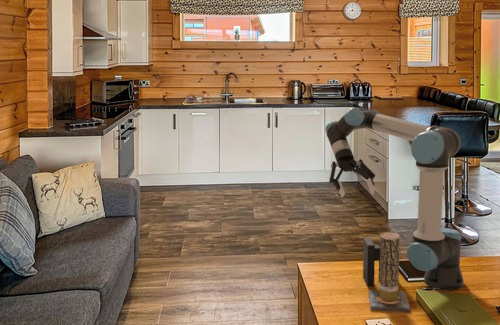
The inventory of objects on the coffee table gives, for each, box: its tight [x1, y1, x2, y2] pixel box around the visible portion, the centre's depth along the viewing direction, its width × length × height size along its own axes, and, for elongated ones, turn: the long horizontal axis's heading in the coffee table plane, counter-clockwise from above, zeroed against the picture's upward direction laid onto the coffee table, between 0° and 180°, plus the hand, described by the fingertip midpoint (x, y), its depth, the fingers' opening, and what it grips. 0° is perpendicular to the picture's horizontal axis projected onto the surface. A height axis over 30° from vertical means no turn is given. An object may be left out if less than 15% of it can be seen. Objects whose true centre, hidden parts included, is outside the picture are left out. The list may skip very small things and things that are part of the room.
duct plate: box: [368, 289, 411, 313], centre depth 187 cm, size 14×14×2 cm
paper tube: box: [379, 232, 401, 301], centre depth 185 cm, size 7×7×25 cm
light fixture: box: [362, 237, 401, 288], centre depth 204 cm, size 10×14×18 cm
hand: (358, 194), depth 201 cm, fingers open, 13 cm apart
